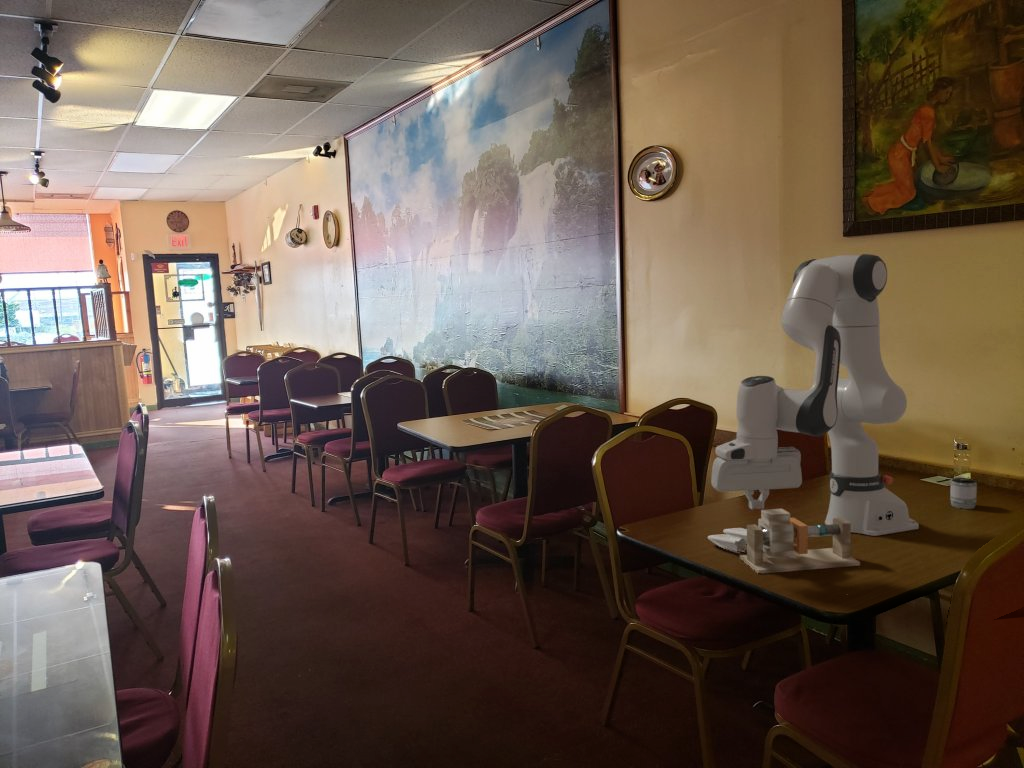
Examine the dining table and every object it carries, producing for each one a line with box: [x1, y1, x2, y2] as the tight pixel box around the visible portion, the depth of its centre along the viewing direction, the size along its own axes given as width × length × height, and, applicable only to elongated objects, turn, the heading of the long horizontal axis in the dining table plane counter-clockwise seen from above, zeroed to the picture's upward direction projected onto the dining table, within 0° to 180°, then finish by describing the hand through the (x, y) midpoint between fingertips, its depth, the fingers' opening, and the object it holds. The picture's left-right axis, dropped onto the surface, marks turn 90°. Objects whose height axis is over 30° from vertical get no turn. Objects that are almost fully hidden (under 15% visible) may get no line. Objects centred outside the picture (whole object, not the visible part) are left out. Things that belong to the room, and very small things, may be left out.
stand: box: [739, 518, 861, 574], centre depth 167 cm, size 24×10×9 cm, turn 96°
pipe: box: [763, 524, 841, 541], centre depth 166 cm, size 19×3×3 cm, turn 96°
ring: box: [790, 517, 809, 554], centre depth 166 cm, size 2×6×6 cm, turn 6°
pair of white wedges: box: [707, 527, 747, 555], centre depth 180 cm, size 12×4×11 cm
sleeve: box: [757, 508, 794, 558], centre depth 166 cm, size 5×7×10 cm
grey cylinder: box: [949, 477, 978, 510], centre depth 204 cm, size 6×6×8 cm
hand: (756, 508), depth 165 cm, fingers closed
